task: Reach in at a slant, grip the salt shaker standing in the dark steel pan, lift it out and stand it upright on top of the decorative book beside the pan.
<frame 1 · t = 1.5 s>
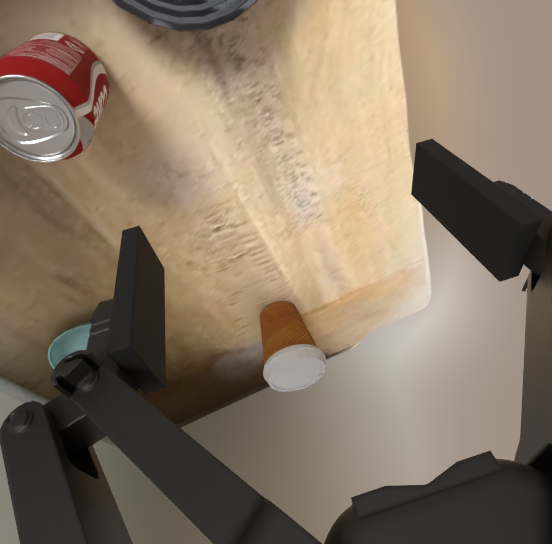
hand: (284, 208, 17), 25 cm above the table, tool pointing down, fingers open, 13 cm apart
saucer: (107, 342, 55), on the table
disposable coffee cup: (277, 313, 60), on the table
soda can: (68, 75, 32), on the table
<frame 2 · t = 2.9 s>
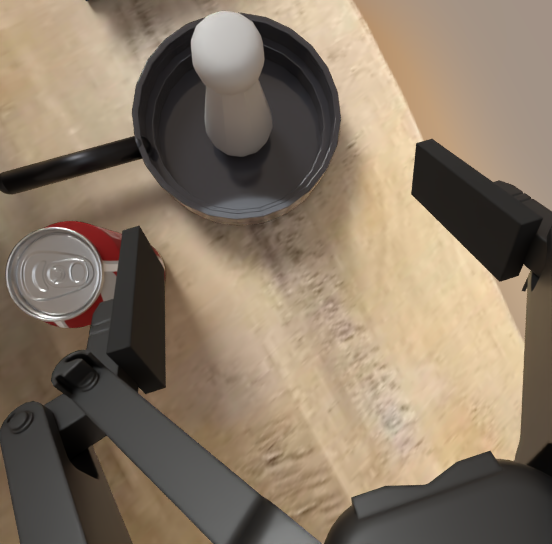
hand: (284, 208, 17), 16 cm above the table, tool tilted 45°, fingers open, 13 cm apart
pan: (240, 134, 33), on the table
pan handle: (75, 164, 29), point 3 cm above the table
soda can: (131, 275, 33), on the table
salt shaker: (240, 134, 33), resting on pan
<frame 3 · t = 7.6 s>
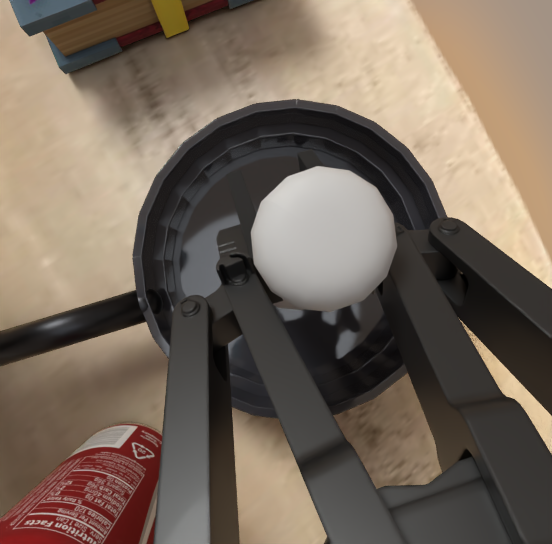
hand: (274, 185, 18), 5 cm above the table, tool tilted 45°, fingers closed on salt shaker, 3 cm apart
pan: (289, 261, 23), on the table
pan handle: (46, 334, 19), point 3 cm above the table
soda can: (133, 470, 22), on the table
salt shaker: (291, 261, 23), resting on pan, touching gripper
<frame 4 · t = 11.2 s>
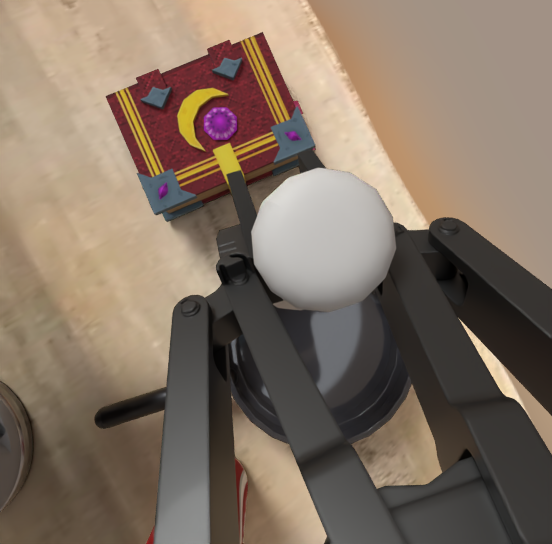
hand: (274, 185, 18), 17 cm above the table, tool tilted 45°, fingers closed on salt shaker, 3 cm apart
pan: (314, 341, 35), on the table
pan handle: (167, 397, 31), point 3 cm above the table
decorative book: (222, 139, 35), on the table
soda can: (213, 479, 34), on the table
salt shaker: (291, 261, 23), point 12 cm above the table, touching gripper
when the fingers open (9 cm above the table, at t = 15.3 s): salt shaker stays where it is, resting on decorative book.
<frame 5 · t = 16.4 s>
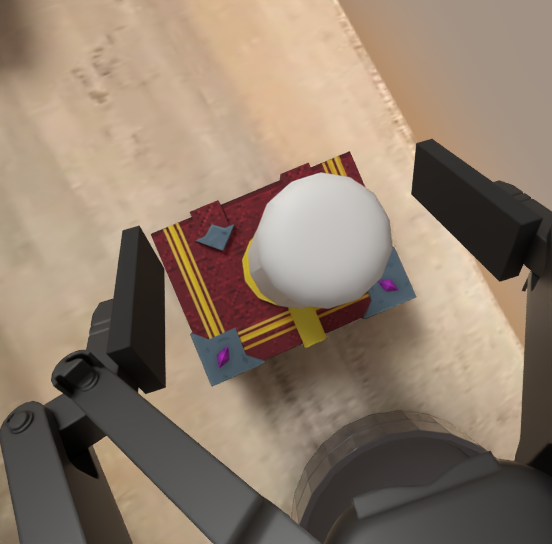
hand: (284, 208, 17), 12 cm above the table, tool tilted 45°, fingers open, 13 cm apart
pan: (397, 517, 28), on the table
decorative book: (286, 264, 28), on the table, touching salt shaker
salt shaker: (293, 261, 23), point 5 cm above the table, touching decorative book
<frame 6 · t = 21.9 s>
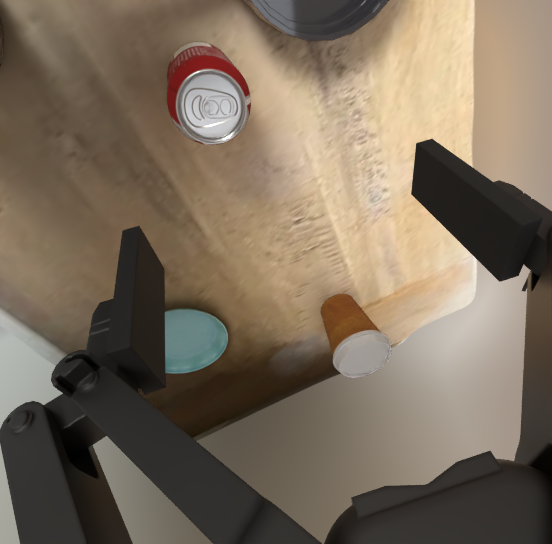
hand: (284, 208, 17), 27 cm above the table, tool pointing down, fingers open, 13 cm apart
saucer: (181, 331, 58), on the table
disposable coffee cup: (336, 306, 64), on the table
soda can: (201, 79, 37), on the table
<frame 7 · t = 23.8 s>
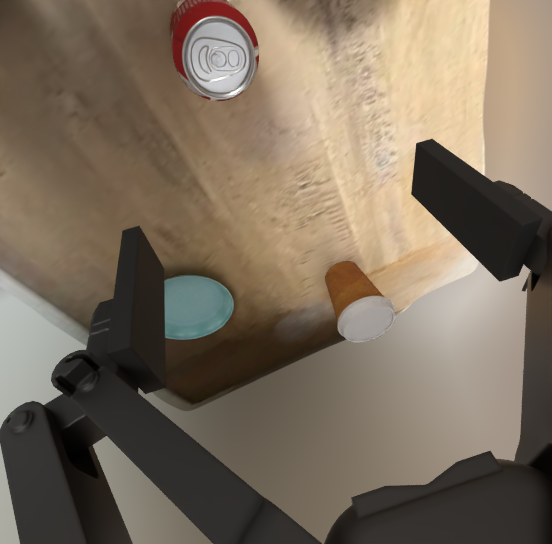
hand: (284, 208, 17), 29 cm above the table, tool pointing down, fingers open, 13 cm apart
saucer: (187, 298, 59), on the table
disposable coffee cup: (341, 273, 64), on the table
soda can: (205, 32, 35), on the table
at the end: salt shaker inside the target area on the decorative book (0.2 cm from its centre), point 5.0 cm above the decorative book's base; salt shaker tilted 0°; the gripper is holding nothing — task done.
